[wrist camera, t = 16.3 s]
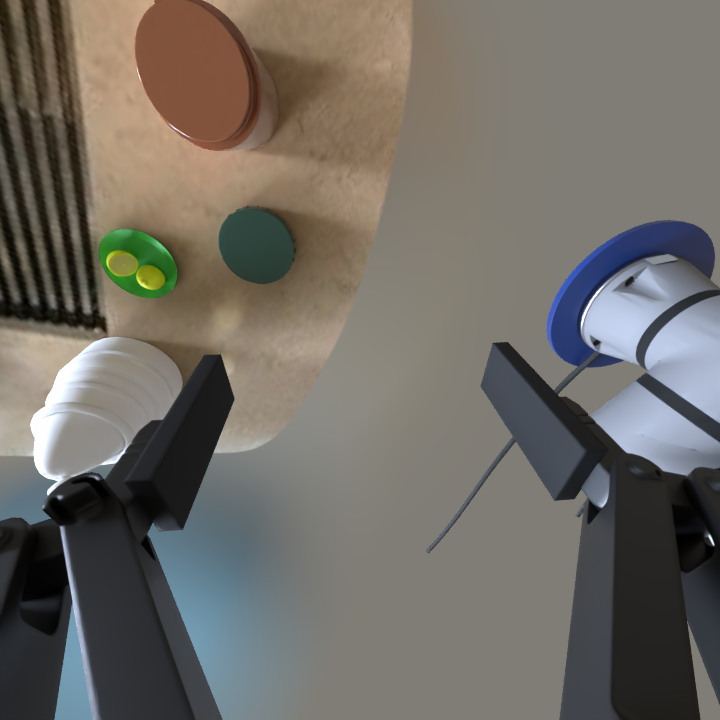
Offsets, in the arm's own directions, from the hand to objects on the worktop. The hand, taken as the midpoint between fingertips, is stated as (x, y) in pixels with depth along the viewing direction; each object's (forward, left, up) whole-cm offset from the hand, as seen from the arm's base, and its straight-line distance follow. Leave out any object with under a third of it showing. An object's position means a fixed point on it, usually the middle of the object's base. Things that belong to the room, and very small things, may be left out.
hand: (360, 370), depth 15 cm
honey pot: (-18, +30, -26) cm, 44 cm away
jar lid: (0, +9, -25) cm, 26 cm away
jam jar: (+13, +9, -26) cm, 30 cm away
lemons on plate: (-2, +23, -26) cm, 35 cm away
